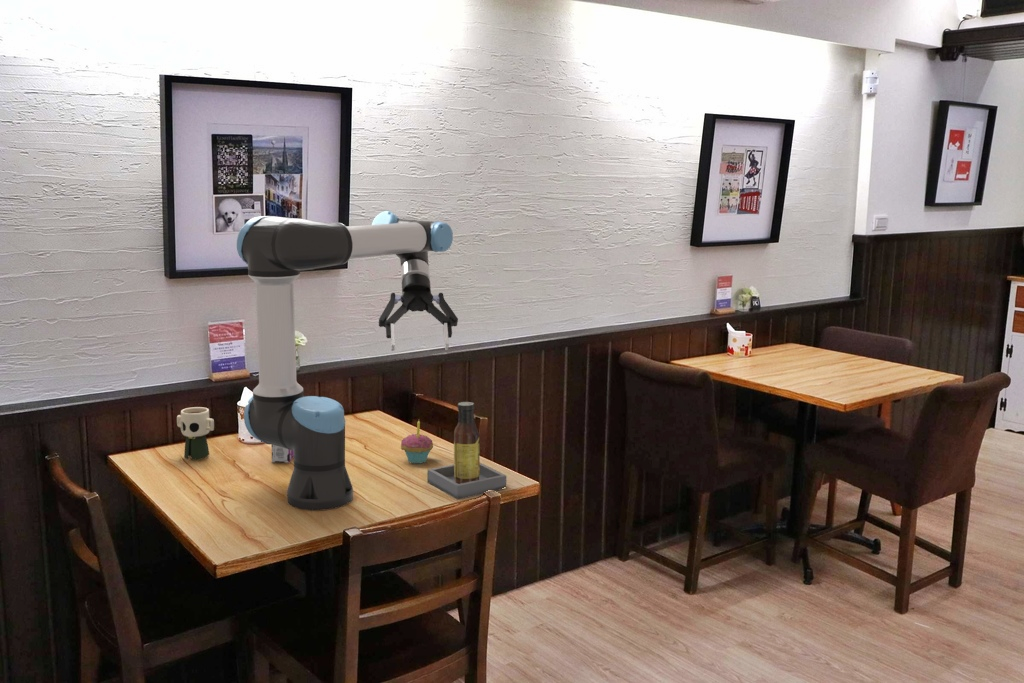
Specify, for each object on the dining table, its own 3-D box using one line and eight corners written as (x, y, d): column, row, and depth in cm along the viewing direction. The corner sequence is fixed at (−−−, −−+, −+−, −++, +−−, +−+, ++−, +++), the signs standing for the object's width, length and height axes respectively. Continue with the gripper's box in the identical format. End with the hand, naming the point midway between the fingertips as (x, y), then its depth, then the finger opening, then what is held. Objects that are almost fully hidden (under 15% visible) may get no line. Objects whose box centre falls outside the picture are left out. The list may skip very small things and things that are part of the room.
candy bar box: (290, 463, 239) (289, 402, 236) (271, 463, 239) (269, 402, 236) (299, 450, 250) (297, 392, 247) (280, 450, 250) (279, 391, 247)
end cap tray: (457, 499, 216) (457, 486, 216) (427, 482, 228) (427, 469, 227) (506, 488, 224) (506, 475, 224) (475, 472, 236) (475, 460, 235)
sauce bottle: (484, 484, 225) (485, 405, 221) (462, 488, 221) (463, 408, 218) (470, 476, 230) (471, 399, 226) (448, 480, 227) (449, 402, 223)
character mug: (170, 460, 240) (168, 411, 238) (187, 452, 247) (184, 405, 244) (207, 464, 237) (205, 415, 235) (222, 456, 244) (220, 408, 242)
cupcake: (436, 464, 241) (437, 420, 239) (405, 467, 238) (405, 422, 236) (427, 454, 249) (427, 411, 247) (397, 457, 246) (397, 414, 244)
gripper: (461, 289, 250) (467, 354, 238) (368, 289, 245) (370, 356, 233) (463, 272, 243) (470, 338, 232) (368, 272, 239) (370, 339, 227)
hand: (420, 347), depth 233 cm, fingers open, 13 cm apart
